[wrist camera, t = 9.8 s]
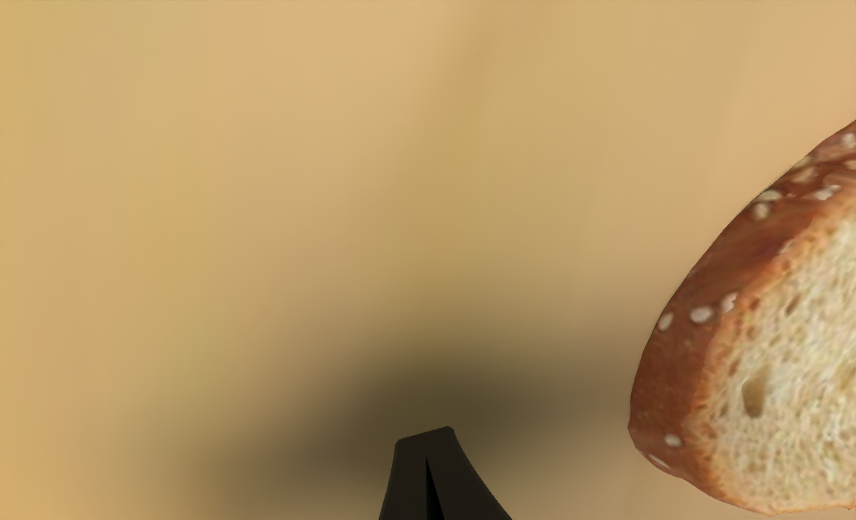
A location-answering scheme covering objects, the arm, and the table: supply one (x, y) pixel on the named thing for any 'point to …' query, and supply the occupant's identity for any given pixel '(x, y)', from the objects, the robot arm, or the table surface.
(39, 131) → the table surface
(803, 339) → the bread slice
